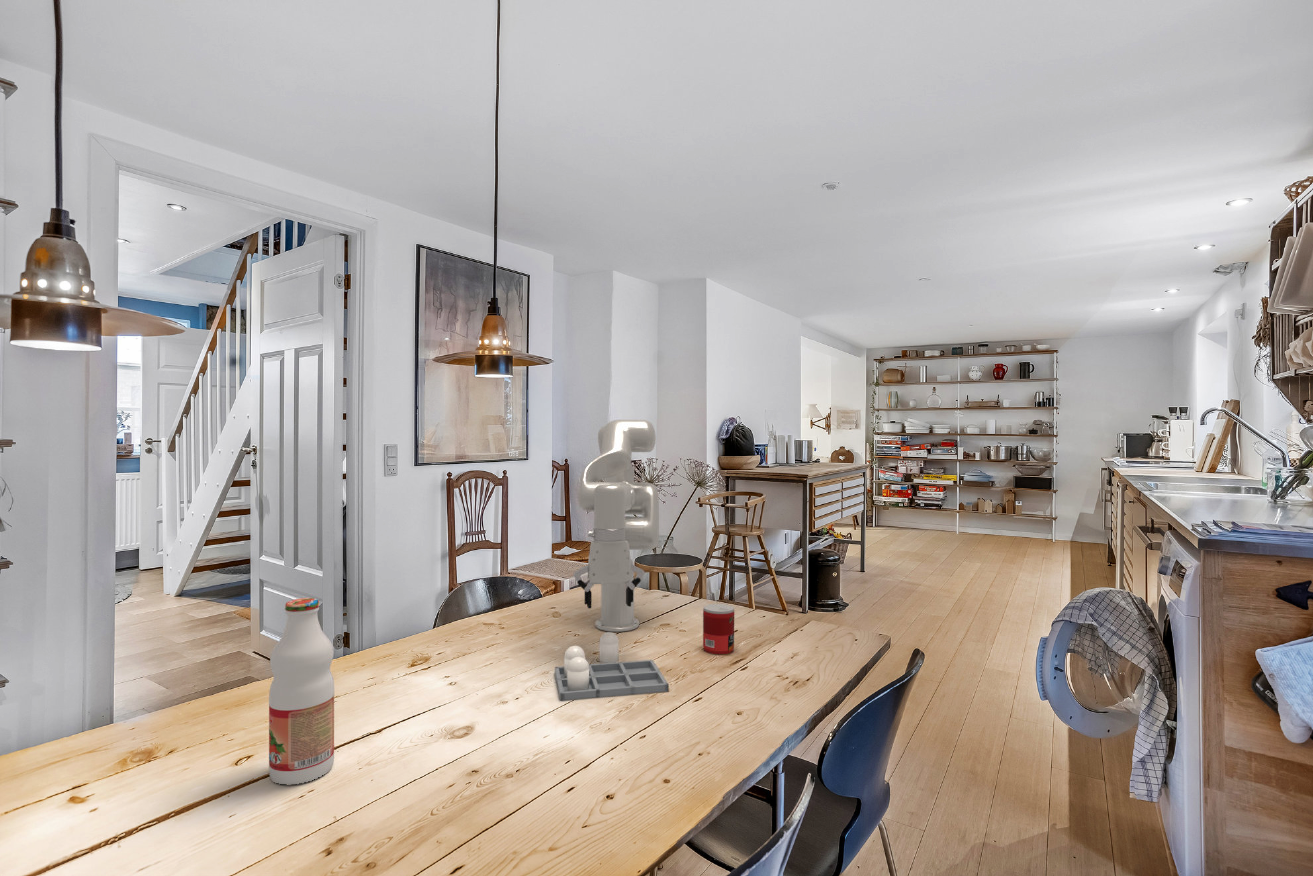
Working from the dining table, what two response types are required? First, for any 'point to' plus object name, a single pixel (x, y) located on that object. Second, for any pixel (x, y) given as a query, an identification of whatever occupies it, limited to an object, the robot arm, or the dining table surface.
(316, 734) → the fruit juice
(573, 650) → the seated egg
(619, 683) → the egg carton
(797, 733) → the dining table surface
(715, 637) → the canned food
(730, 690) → the dining table surface
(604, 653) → the loose egg
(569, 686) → the seated egg
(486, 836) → the dining table surface
